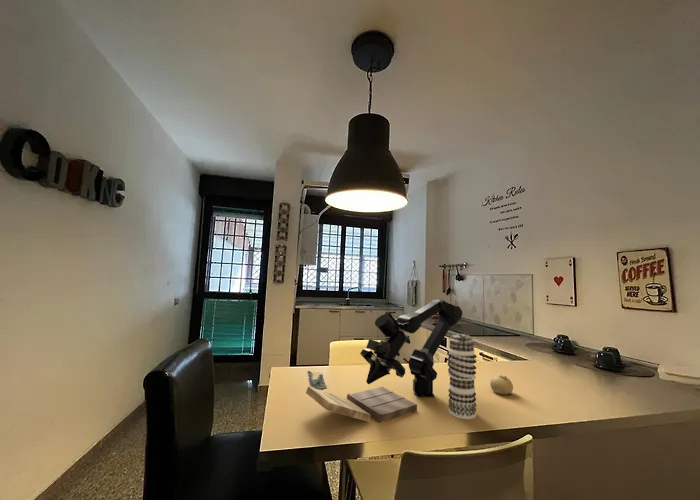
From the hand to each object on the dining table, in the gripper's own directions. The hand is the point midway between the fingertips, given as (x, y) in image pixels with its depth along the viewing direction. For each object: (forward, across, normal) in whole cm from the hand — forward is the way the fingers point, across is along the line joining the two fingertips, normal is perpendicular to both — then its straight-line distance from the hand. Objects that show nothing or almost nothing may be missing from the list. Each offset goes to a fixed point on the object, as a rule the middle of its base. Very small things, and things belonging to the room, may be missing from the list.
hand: (367, 383), depth 99 cm
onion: (-32, +15, +44) cm, 56 cm away
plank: (+9, 0, +3) cm, 10 cm away
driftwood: (+8, -32, +5) cm, 34 cm away
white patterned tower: (-12, +18, +24) cm, 32 cm away
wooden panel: (+2, 0, +10) cm, 10 cm away
